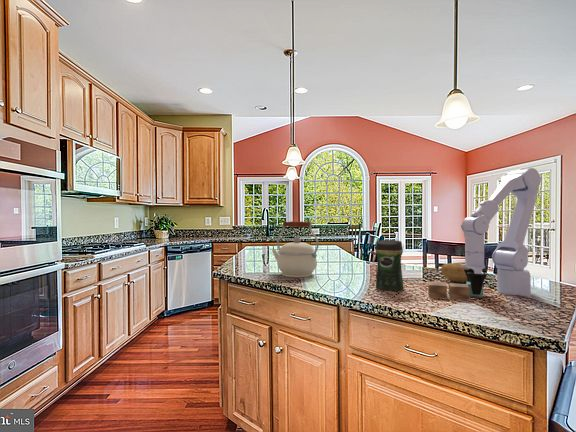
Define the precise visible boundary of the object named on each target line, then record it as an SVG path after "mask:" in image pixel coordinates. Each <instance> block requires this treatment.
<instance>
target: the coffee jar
mask: <svg viewBox="0 0 576 432" xmlns="http://www.w3.org/2000/svg"><path fill="white" fill-rule="evenodd" d="M403 253H404V249H403V244H402V241H401V240H395V239H394V240H393V239H382V240H377V241H376V244H375V254H376V259H377V260H376V261H377V262H376V266H377V267H376V275H375V288H376V290H382V291H390V292H391V291H392V292H401V291H402V290H404V281H403V273H402V255H403Z"/></svg>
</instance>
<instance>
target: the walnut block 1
mask: <svg viewBox="0 0 576 432" xmlns="http://www.w3.org/2000/svg"><path fill="white" fill-rule="evenodd" d="M427 293H428V296H429V297H428V298H430V297H436V298H435V299H444V298H447V296H448V285H447V284H446V282H439V281H438V282H437V281H436V282H435V281H428V282H427Z"/></svg>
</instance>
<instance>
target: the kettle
mask: <svg viewBox="0 0 576 432" xmlns="http://www.w3.org/2000/svg"><path fill="white" fill-rule="evenodd" d="M312 225H313V224H312V221H292V220H291V221H286V220H285V221H283V222H282V230H281V231H280V233H279V235H278V236H277V239H276V245H277V248H278V251H277V250H276V249H271V252H272V255H273V256H274V259H275V260H276V262H277V263H276V264H277V269H279V271H280V272H281V275H282V276H283V277H287V278H296V279H297V278H298V279H299V278H309V277H311V276H312V275H313V272H314V271H315V270H316V268H317V265H318V260H317V257H318V255H317V252H318V249H319V244H320V243H319V239H318V237H317V236H316V234H315V233H314V232H313V230H312V229H313V228H312ZM286 227H291V228H304V227H307V228H309V232H310V233H311V234H312V236H313V237H314V239H315V241H316V247H315V248H314V247H313V246H312V245H311V244H310V243H307V242H301V241H302V239H301V237H299V236H295V237H293V239H292V241H293V242H287V243H285V244H283V245H282V246H281V247H280V238H281V236H282V235H283V233H284V232H285V230H286Z"/></svg>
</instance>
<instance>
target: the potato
mask: <svg viewBox="0 0 576 432" xmlns="http://www.w3.org/2000/svg"><path fill="white" fill-rule="evenodd" d="M461 264H465V262H463V263H462V262H455V263H452V262H451V263H450V262H449V263H444V264H442V266H441V268H440V270H441V271H440V272H441V274H442V275H443V276H444V278H446V279H447V280H448V281H450V282H453V283H456V284H466V282H468V280H467V276H466V274H465V272H464V270H463V269H469V268H467V267H462V266H461Z"/></svg>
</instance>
